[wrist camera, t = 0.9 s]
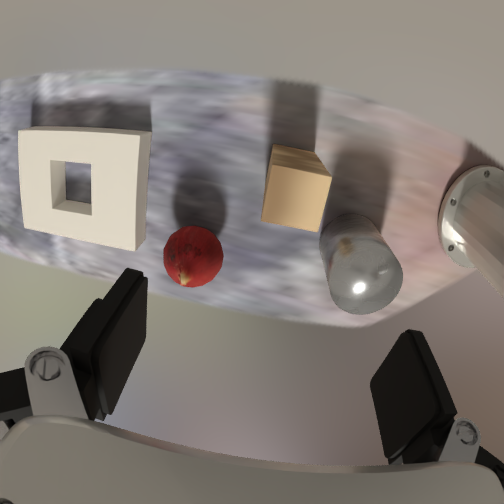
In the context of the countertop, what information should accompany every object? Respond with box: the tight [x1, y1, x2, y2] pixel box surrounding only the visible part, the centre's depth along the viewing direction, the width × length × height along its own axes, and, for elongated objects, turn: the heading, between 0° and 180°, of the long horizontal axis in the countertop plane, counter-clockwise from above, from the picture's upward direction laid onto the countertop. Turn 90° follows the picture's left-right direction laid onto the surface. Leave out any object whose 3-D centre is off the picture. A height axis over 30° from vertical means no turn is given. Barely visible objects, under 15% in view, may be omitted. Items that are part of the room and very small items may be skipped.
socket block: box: [18, 126, 152, 251], centre depth 30 cm, size 16×12×3 cm
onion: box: [164, 226, 224, 287], centre depth 30 cm, size 6×6×8 cm
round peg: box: [319, 214, 403, 315], centre depth 29 cm, size 7×7×8 cm
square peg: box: [261, 144, 332, 232], centre depth 25 cm, size 4×4×10 cm
